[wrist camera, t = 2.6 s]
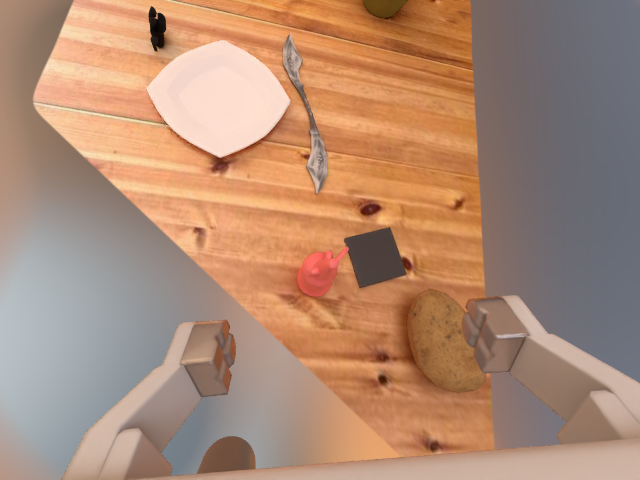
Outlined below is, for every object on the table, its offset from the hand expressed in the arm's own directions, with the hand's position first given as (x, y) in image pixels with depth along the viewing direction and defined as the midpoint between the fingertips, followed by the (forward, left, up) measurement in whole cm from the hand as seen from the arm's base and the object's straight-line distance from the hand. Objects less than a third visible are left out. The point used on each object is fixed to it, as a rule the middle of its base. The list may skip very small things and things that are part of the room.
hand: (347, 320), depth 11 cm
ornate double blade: (+13, +34, -35) cm, 51 cm away
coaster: (+17, +6, -35) cm, 40 cm away
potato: (+21, -8, -35) cm, 42 cm away
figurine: (+6, +5, -35) cm, 36 cm away
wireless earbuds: (-7, +50, -35) cm, 62 cm away
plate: (0, +37, -35) cm, 51 cm away
